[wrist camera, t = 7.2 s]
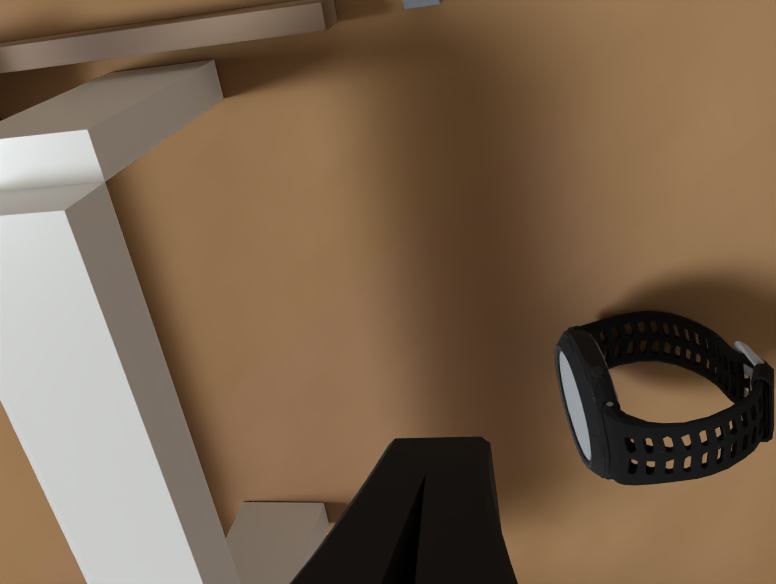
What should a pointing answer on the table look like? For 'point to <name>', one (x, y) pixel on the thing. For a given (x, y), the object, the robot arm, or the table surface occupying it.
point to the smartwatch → (616, 429)
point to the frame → (420, 3)
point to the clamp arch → (114, 350)
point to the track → (169, 34)
